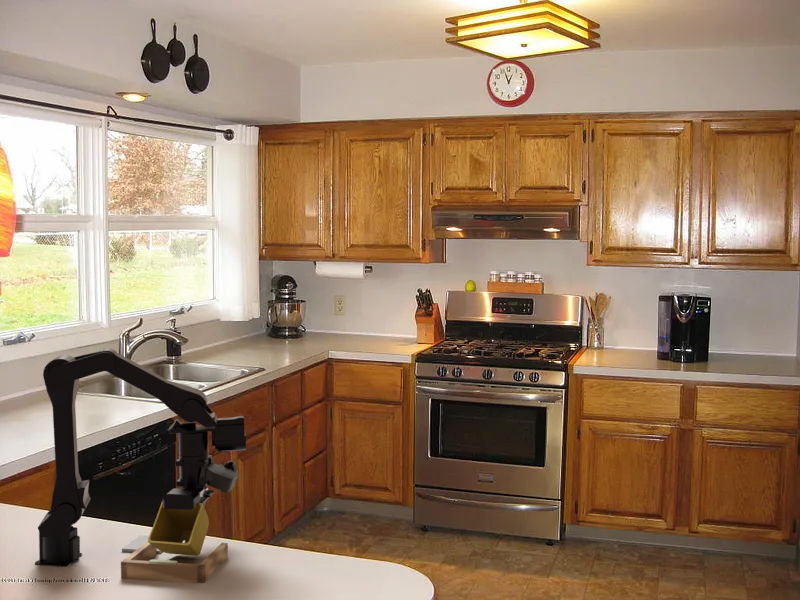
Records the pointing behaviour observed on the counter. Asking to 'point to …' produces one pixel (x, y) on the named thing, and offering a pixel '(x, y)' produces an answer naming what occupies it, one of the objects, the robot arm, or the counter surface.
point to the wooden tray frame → (170, 566)
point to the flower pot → (180, 530)
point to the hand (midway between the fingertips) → (196, 529)
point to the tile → (137, 544)
